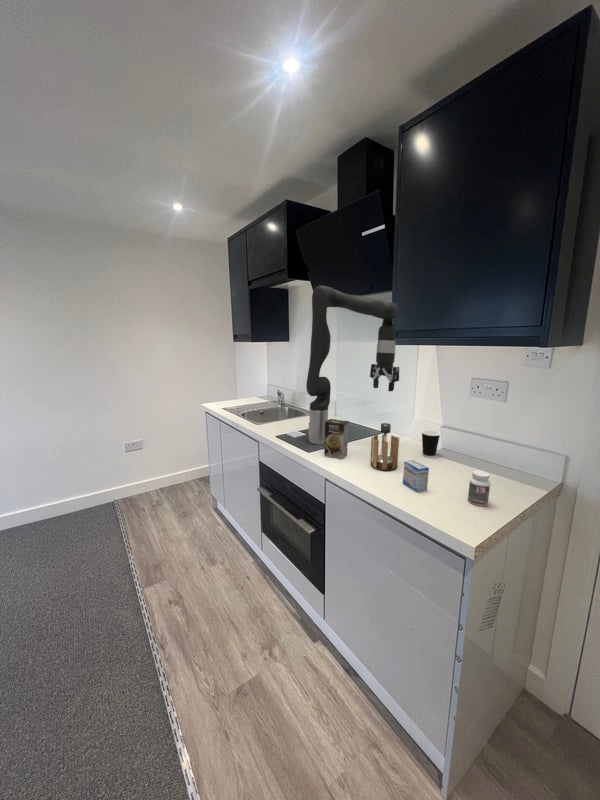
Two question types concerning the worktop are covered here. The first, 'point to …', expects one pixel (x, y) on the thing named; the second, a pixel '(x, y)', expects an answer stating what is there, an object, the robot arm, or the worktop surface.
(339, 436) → the coffee box
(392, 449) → the press carafe
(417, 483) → the medicine box
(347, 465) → the worktop surface
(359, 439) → the worktop surface
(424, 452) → the dixie cup
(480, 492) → the pill bottle
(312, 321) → the robot arm
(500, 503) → the worktop surface
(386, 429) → the plunger
